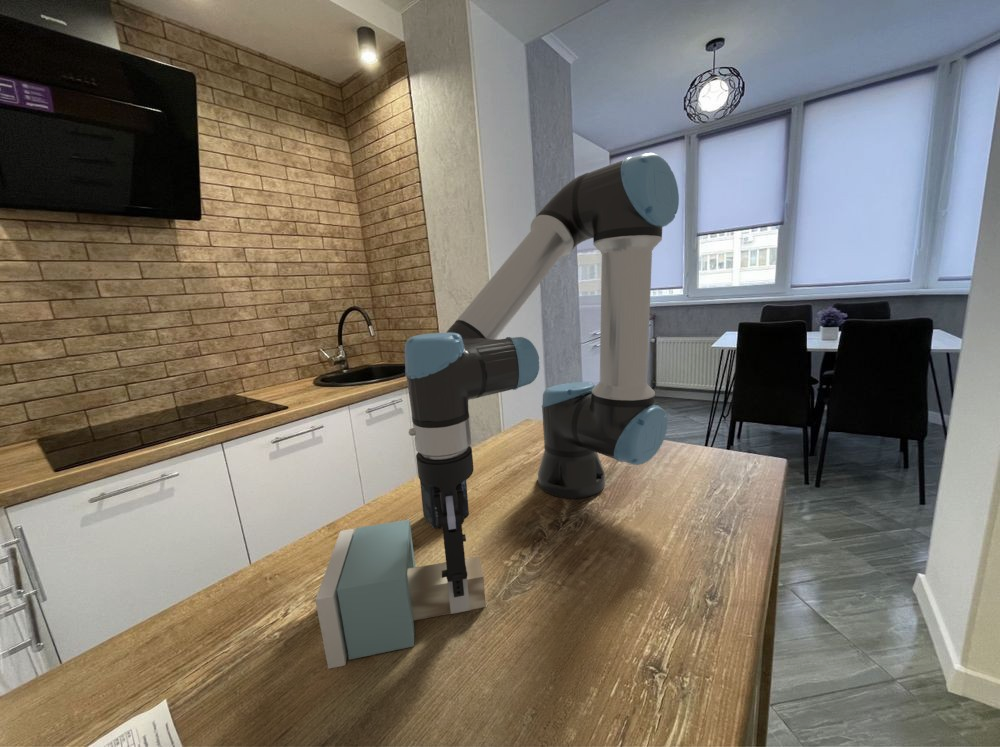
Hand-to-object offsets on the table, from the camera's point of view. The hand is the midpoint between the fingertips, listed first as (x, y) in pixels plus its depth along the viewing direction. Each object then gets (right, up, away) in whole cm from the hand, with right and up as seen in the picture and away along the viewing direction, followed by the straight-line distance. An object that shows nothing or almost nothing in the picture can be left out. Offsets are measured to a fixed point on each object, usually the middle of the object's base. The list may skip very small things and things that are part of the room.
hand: (458, 596), depth 58 cm
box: (-5, +3, +22) cm, 23 cm away
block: (-10, -2, -2) cm, 10 cm away
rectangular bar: (-4, -1, -1) cm, 4 cm away
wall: (-15, -2, -2) cm, 16 cm away
